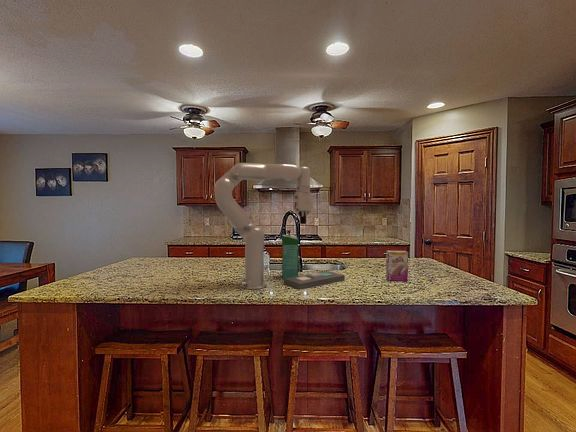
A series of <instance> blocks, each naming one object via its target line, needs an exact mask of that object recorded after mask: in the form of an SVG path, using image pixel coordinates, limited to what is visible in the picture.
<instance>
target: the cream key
mask: <svg viewBox="0 0 576 432" xmlns="http://www.w3.org/2000/svg"><path fill="white" fill-rule="evenodd" d="M296 279H298V280H301V281H305V280H311V278H308V277H298V278H296Z"/></svg>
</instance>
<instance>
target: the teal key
mask: <svg viewBox="0 0 576 432" xmlns="http://www.w3.org/2000/svg"><path fill="white" fill-rule="evenodd" d="M321 274H323V276H324V277H327V276H332V275H333V274H329V273H321Z"/></svg>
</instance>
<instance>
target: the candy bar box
mask: <svg viewBox="0 0 576 432" xmlns="http://www.w3.org/2000/svg"><path fill="white" fill-rule="evenodd" d="M385 257H386V260H385V262H386V265H385V280H386V281H387V282H389V281H390V282H408V279H409V276H408V275H409V252H408V251H407V250H386V256H385Z"/></svg>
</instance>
